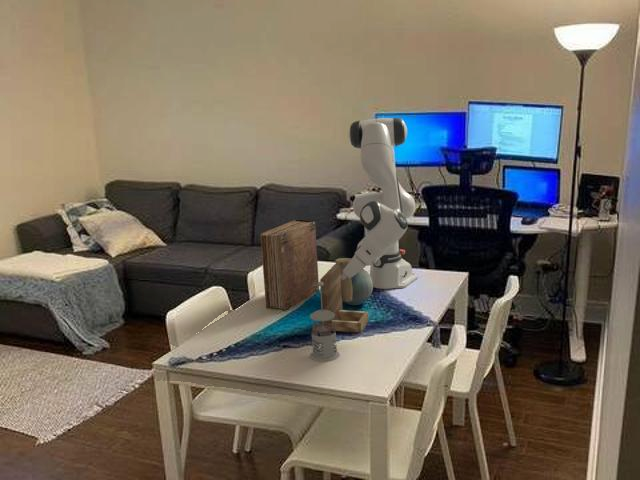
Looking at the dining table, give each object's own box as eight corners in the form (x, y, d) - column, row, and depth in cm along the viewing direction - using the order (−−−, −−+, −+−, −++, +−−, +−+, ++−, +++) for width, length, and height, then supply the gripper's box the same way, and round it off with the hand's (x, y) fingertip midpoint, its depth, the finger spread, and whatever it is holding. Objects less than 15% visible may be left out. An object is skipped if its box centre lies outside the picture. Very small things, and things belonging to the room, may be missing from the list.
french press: (317, 364, 206) (312, 289, 199) (303, 351, 216) (297, 278, 210) (345, 357, 210) (341, 283, 203) (330, 344, 220) (325, 273, 213)
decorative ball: (344, 295, 265) (342, 260, 261) (379, 299, 259) (378, 263, 255) (328, 308, 252) (326, 271, 249) (365, 312, 246) (363, 274, 242)
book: (285, 311, 252) (279, 236, 244) (265, 308, 257) (259, 234, 249) (319, 290, 273) (315, 220, 265) (300, 288, 278) (296, 219, 270)
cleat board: (370, 317, 241) (368, 265, 236) (358, 336, 225) (356, 281, 220) (337, 315, 245) (334, 264, 240) (323, 334, 229) (320, 279, 224)
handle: (352, 303, 229) (349, 262, 225) (336, 302, 232) (333, 261, 228) (358, 299, 233) (355, 258, 229) (343, 297, 236) (339, 257, 232)
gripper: (370, 235, 235) (345, 261, 240) (356, 251, 216) (329, 278, 221) (383, 248, 234) (357, 273, 240) (369, 264, 216) (342, 291, 221)
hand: (344, 275), depth 230 cm, fingers closed on handle, 3 cm apart
